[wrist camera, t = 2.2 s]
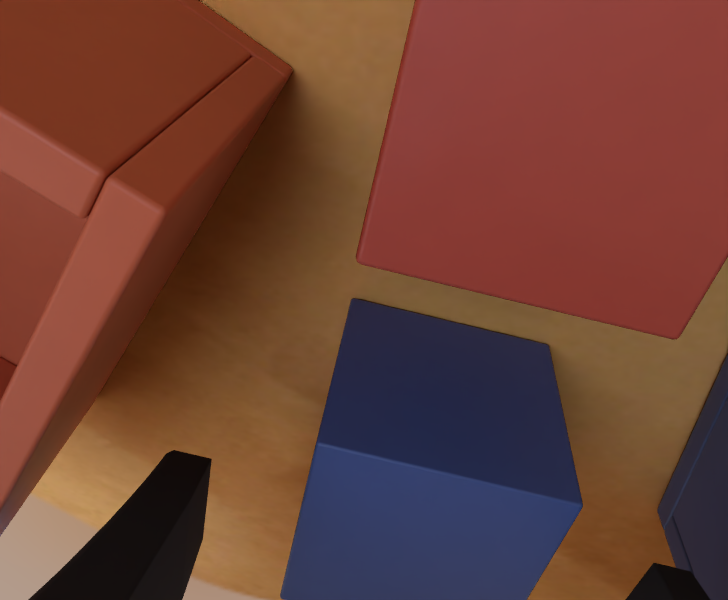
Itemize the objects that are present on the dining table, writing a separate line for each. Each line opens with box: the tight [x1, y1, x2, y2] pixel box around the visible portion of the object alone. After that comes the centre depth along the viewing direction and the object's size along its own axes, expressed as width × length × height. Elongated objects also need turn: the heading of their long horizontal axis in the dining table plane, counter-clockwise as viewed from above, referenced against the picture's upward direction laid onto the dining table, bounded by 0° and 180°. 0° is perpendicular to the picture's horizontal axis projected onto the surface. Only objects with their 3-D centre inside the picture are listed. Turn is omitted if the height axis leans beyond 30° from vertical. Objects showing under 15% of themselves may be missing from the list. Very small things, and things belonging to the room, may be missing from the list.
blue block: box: [280, 298, 583, 600], centre depth 12 cm, size 4×4×4 cm
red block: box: [356, 0, 728, 339], centre depth 8 cm, size 4×4×4 cm
